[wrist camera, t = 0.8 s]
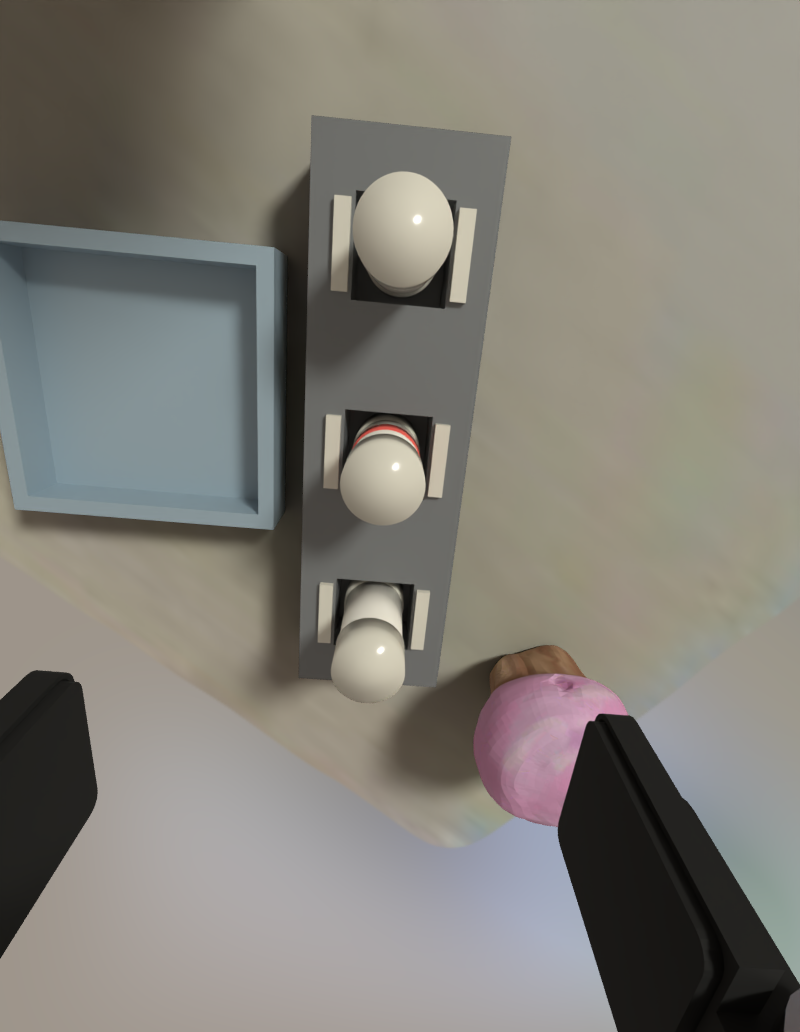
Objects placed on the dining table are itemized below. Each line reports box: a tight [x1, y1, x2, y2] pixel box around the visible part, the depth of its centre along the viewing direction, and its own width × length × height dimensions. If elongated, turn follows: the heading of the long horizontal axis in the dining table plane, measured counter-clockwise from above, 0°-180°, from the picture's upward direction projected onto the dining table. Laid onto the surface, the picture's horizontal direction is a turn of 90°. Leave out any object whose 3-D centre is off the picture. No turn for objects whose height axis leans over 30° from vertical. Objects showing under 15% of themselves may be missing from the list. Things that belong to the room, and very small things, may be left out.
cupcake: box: [473, 645, 628, 827], centre depth 30 cm, size 9×9×10 cm
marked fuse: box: [340, 412, 426, 525], centre depth 24 cm, size 3×3×8 cm
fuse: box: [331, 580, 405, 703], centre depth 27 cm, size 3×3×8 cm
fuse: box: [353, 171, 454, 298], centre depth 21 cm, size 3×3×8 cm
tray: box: [0, 220, 288, 530], centre depth 26 cm, size 14×14×3 cm
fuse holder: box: [299, 115, 511, 687], centre depth 27 cm, size 27×8×4 cm, turn 175°
